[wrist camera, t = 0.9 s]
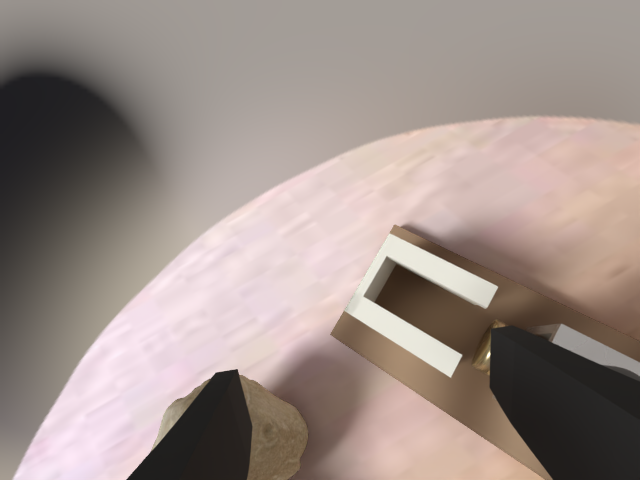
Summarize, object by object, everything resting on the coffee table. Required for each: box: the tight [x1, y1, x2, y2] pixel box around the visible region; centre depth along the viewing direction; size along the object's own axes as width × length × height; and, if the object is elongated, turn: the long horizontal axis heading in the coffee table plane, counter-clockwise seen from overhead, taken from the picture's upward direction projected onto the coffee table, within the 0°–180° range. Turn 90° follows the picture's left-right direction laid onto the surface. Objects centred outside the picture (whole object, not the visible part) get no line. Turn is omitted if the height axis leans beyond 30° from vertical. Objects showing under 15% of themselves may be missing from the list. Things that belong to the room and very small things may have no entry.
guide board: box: [330, 225, 640, 480], centre depth 17 cm, size 20×9×6 cm, turn 57°
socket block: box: [344, 233, 498, 378], centre depth 19 cm, size 6×5×5 cm
